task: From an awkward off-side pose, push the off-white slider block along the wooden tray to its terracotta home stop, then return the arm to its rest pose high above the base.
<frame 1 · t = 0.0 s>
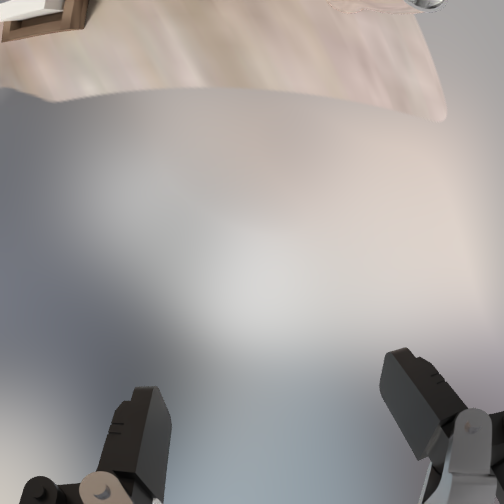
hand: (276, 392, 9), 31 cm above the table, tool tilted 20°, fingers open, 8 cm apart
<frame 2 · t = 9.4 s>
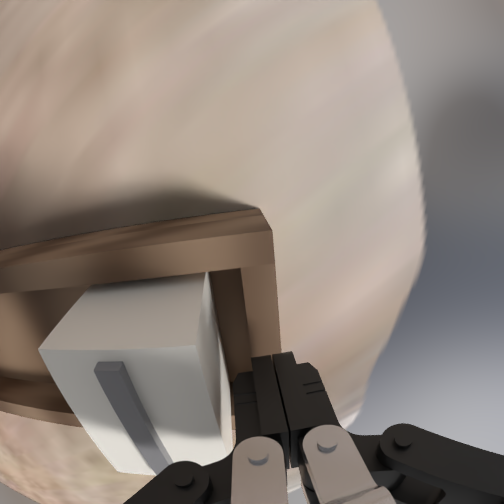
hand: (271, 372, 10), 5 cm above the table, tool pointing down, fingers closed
wooden tray: (66, 321, 15), on the table
slider block: (156, 376, 11), point 5 cm above the table, slide at -7.0 cm, touching gripper
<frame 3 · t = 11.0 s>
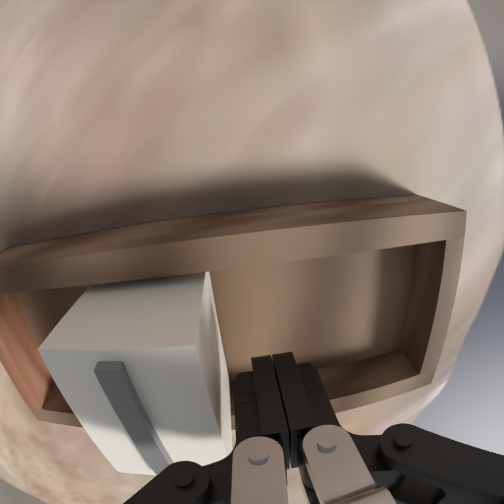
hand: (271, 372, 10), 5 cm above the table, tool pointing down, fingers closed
wooden tray: (206, 311, 15), on the table
slider block: (156, 376, 11), point 5 cm above the table, slide at 1.8 cm, touching gripper
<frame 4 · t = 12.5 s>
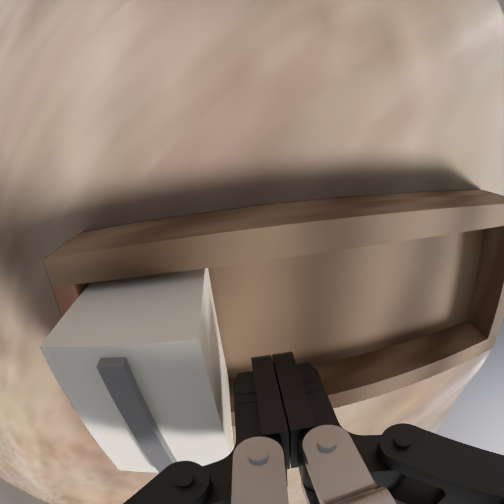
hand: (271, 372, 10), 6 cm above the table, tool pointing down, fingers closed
wooden tray: (321, 291, 16), on the table
slider block: (156, 372, 11), point 5 cm above the table, slide at 8.1 cm, touching gripper
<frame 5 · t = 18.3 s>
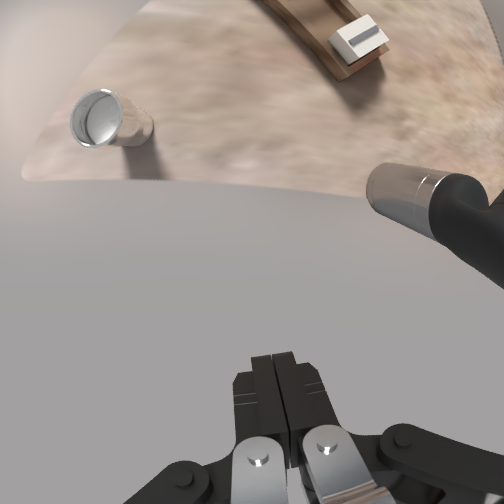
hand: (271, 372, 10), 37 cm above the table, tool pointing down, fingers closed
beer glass: (134, 127, 40), on the table
wooden tray: (312, 14, 36), on the table
slider block: (356, 40, 34), point 5 cm above the table, slide at 8.0 cm
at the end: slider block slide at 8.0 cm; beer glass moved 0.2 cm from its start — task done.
